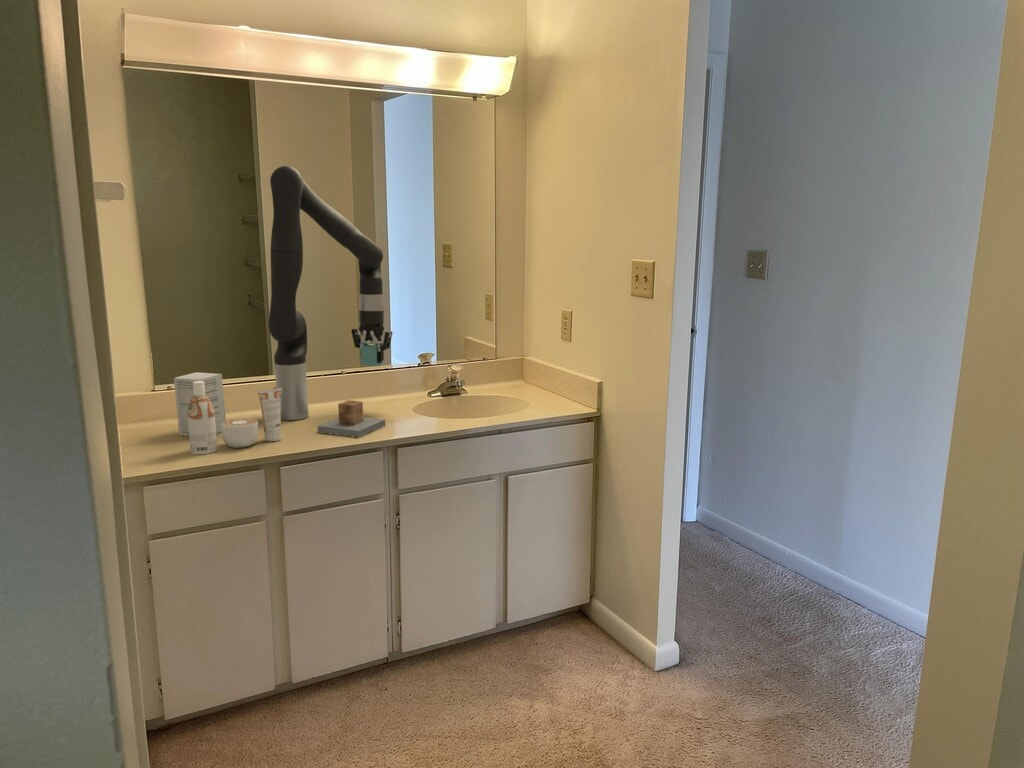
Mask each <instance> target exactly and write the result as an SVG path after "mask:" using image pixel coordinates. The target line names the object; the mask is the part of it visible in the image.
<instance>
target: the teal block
mask: <svg viewBox="0 0 1024 768" xmlns="http://www.w3.org/2000/svg"><path fill="white" fill-rule="evenodd" d="M377 352H378V351H377V347H376V345H375V344H374V343H368V345H363V346H361V356H360V365H361V366H368V367H369V366H370V367H371V366H372V367H377V366H380V365H383V364H384V360H383V361H382V363H377Z"/></svg>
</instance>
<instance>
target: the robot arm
mask: <svg viewBox="0 0 1024 768" xmlns="http://www.w3.org/2000/svg"><path fill="white" fill-rule="evenodd" d="M270 175H271V176H270V179H269V180H270V188H271V189H270V190H271V196H272V205H273V206H272V207H273V217H272V218H273V220H272V226H271V227H272V228H271V235H270V237H271V239H270V286H271V287H270V291H271V297H270V308H269V317H268V330H269V333H270V335H271V337H272V338H273V339H274V340H275V341H277V347H276V351H275V353H274V356H273V358H274V359H273V361H274V362H273V363H274V375H275V378H274V379H275V386H274V387H273V388H272V389H277V388H282V393H281V420H282V421H296V420H302V419H306V418H308V417H309V401H308V381H307V363H306V362H307V361H306V358H307V357H306V356H307V352H308V328H307V327H308V326H307V322H306V319H305V317H304V315H303V314H302V313H301V312H300V311H298V310H297V309H296V308H297V307H296V305H297V304H296V299H297V298H296V297H297V291H298V288H299V286H300V285H299V284H300V282H301V277H302V273H303V264H304V247H303V235H302V226H301V219H300V218H301V214H300V213H301V211H303V212H304V213H306V215H308V216H309V217H310V218H311V219H312V220H313V221H314V222H315V223H316V224H317V225H318V226H319V227H320V228H321V229H323V231H325V233H327V234H328V235H329V236H330V237H332V239H333V240H335V241H336V242H337V243H338V244H340V245H341V246H342V247H343V248H345V249H347V250H348V251H349V252H350V253H351V254H353V256H355V257H356V258H357V260H358V271H359V298H358V318H359V328H358V327H356V328H351V335H352V341H353V345H354V348H357V349H359V351H360V357H361V346H363V345H368V344H370V341H372V342H373V344H375V345H376V347H377V351H378V352H377V363H382V361H383V362H384V360H385V357H384V356H385V355H384V353H385V351H386V350H389V349H390V346H391V342H392V339H393V331H391V330H390V331H389V330H386V329H385V327H384V322H385V318H384V314H385V312H384V309H385V308H384V307H385V306H384V295H383V291H384V290H383V278H382V276H381V273H382V272H381V271H382V270H381V269H382V267H381V266H382V265H381V263H382V262H383V259H384V253H383V250H382V249H381V247H380V246H379V245H378V244H376V243H375V242H374V241H373V240H372V239H370V238H369V237H367V235H365V234H363V233H362V232H361V230H359V229H358V228H357V227H356V226H355V225H354V224H353V223H352V222H351V221H350V220H348V219H347V218H346V217H345V216H343V215H342V214H341V213H340V212H338V211H337V210H336V209H335V208H333V207H332V206H330V205H329V204H328V203H326V201H324V200H323V199H322V198H321V197H319V195H317V194H316V193H315V192H314V191H313V190H312V189H311V187H310V186H309V185H308V184H307V183H306V182H305V180H304V179H303V177H302V175H301V173H300V171H298V170H297V169H296V168H294V167H292V166H289V165H281V166H279V167H277V168H276V169H274V171H273V172H272V173H271V174H270ZM382 336H383V337H382Z"/></svg>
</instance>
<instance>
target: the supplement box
mask: <svg viewBox="0 0 1024 768" xmlns="http://www.w3.org/2000/svg"><path fill="white" fill-rule="evenodd" d="M195 381H204V385H205V394H206V396H207V397H208V398H209V399H210V401H211V402H212V404H213V407H214V413H215V425H216V435H217V434H220V433H222V429H221V423H222V422H224V421H227V417H226V407H225V396H224V395H225V394H224V384H223V375H222V373H212V372H211V373H210V372H192V373H189V374H184V375H180V376H176V377H174V378H173V384H174V392H175V393H174V394H175V402H176V403H175V404H176V413H177V423H178V433H179V436H182V435H184V437H189V426H188V414H187V409H188V405H189V402H190V401H191V399H192V397H193V396H194V391H193V382H195Z"/></svg>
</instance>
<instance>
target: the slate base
mask: <svg viewBox="0 0 1024 768" xmlns="http://www.w3.org/2000/svg"><path fill="white" fill-rule="evenodd" d="M383 426H384V427H386V419H383V418H373V417H367V416H365V417H364V416H363V422H361V423H358V424H356V425H345V424H339V417H337V418H334V419H332V420H329V421H327V422H324V423H322V424H319V425H317V427H316V428H317V433H318V432H323V433H322V434H325V433H331V434H330V435H333V434H338V435H337V436H341V435H345V436H344V437H349V436H353V437H352V438H357V437H360V438H361V436H362V437H364V436H366V435H368V434H367V433H369V432H371V433H372V431H373V432H375V431H377V430H380V429H382V428H384V427H383ZM381 427H382V428H381ZM379 428H380V429H379ZM376 429H377V430H376ZM374 430H375V431H374ZM365 434H366V435H365ZM369 434H370V433H369ZM363 435H364V436H363Z"/></svg>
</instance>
